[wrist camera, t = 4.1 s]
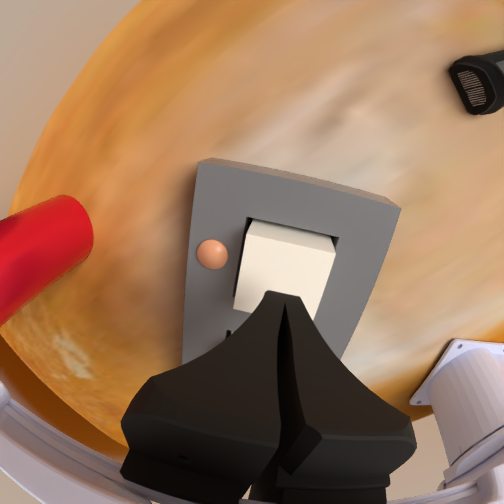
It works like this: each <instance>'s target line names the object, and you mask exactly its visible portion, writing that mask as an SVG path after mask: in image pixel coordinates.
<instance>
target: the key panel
mask: <svg viewBox="0 0 504 504" xmlns="http://www.w3.org/2000/svg"><path fill="white" fill-rule="evenodd" d="M400 211H401V208H400V207H399V206H397V205H396V204H394V203H393V202H392V201H390V200H389V199H387V198H386V197H383V196H379V195H376V194H373V193H369V192H366V191H362V190H359V189H355V188H351V187H348V186H344V185H340V184H336V183H332V182H328V181H324V180H320V179H316V178H312V177H308V176H304V175H299V174H295V173H290V172H286V171H281V170H276V169H271V168H266V167H261V166H256V165H251V164H246V163H240V162H234V161H229V160H223V159H216V158H210V159H207V160H203V161H200V162H198V169H197V176H196V184H195V192H194V200H193V209H192V218H191V227H190V237H189V247H188V259H187V271H186V284H185V300H184V317H183V340H182V365H184V364H186V363H187V362H189V361H191V360H193V359H195V358H197V357H199V356H201V355H203V354H205V353H206V352H208V351H209V350H211V349H212V348H214V347H215V346H217V345H218V344H220V343H221V342H222V341H224V340H225V339H226V338H227V337H229V334H230V331H236V330H237V329H238V328H239V327H240V326H241V325H242V324H243V323H244V322H245V321H246V319H247V318H248V317H249V316H250V315H251V314H252V313H249V312H245V311H240V310H236V309H233V307H234V301H235V295H236V290H237V284H238V279H239V273H240V267H241V262H242V256H243V251H244V245H245V240H246V234H247V232H248V229H249V224H250V218H256V219H261V220H265V221H270V222H274V223H279V224H284V225H288V226H293V227H297V228H301V229H306V230H310V231H315V232H319V233H323V234H327V235H330V238H331V241H332V244H333V246H334V249H335V252H336V255H335V259H334V262H333V265H332V268H331V271H330V274H329V277H328V280H327V283H326V286H325V289H324V292H323V295H322V298H321V300H320V303H319V306H318V309H317V312H316V314H315V317H314V320H313V322H314V324H315V326H316V327H317V329H318V331H319V332H320V334H321V336H322V337H323V339H324V340H325V341H326V343H327V344H328V346H329V347H330V349H331V350H332V351H333V352H334V354H335V355H336V356H337V357H338V358H339V360H340V359H341V357H342V355H343V353H344V351H345V349H346V347H347V345H348V343H349V341H350V339H351V337H352V335H353V333H354V331H355V328H356V326H357V324H358V322H359V320H360V317H361V315H362V313H363V311H364V308H365V306H366V304H367V302H368V299H369V297H370V294H371V292H372V290H373V287H374V285H375V282H376V280H377V277H378V275H379V272H380V269H381V267H382V264H383V262H384V259H385V256H386V253H387V251H388V248H389V245H390V242H391V239H392V236H393V233H394V230H395V227H396V224H397V221H398V218H399V215H400Z"/></svg>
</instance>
